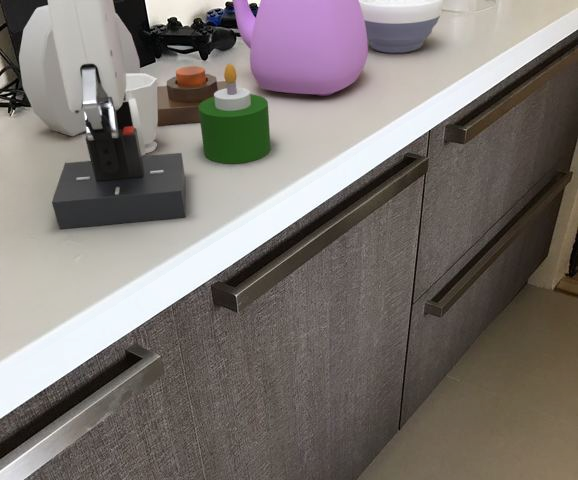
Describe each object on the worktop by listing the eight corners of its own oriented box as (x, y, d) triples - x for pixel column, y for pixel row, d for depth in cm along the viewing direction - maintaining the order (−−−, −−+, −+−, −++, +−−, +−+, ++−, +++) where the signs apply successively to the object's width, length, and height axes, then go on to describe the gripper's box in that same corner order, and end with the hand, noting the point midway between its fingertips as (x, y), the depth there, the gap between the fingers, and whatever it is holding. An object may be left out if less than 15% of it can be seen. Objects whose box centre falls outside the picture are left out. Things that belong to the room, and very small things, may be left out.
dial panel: (59, 229, 69) (51, 200, 66) (71, 188, 76) (64, 161, 74) (185, 217, 69) (180, 188, 67) (185, 178, 77) (181, 151, 75)
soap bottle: (60, 143, 87) (12, -35, 74) (35, 135, 89) (-15, -38, 76) (150, 107, 96) (121, -57, 83) (126, 101, 99) (94, -59, 85)
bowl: (344, 56, 111) (345, 5, 106) (364, 34, 122) (366, -14, 117) (431, 61, 108) (436, 8, 103) (444, 37, 118) (449, -12, 113)
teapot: (385, 64, 107) (391, -46, 97) (343, 107, 93) (344, -17, 83) (257, 55, 114) (250, -49, 104) (200, 93, 100) (185, -22, 90)
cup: (164, 134, 88) (153, 69, 82) (174, 163, 80) (163, 93, 75) (110, 142, 86) (96, 76, 81) (116, 171, 79) (100, 102, 74)
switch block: (151, 126, 90) (146, 95, 88) (154, 102, 98) (149, 73, 95) (239, 119, 91) (237, 88, 88) (235, 95, 98) (232, 67, 96)
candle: (203, 165, 79) (191, 77, 73) (205, 139, 86) (194, 56, 79) (272, 161, 80) (267, 72, 73) (268, 135, 86) (263, 52, 79)
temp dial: (95, 181, 70) (84, 136, 67) (97, 173, 71) (86, 129, 68) (143, 177, 70) (134, 132, 67) (144, 169, 72) (135, 125, 68)
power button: (177, 89, 90) (175, 75, 89) (177, 80, 93) (175, 67, 92) (206, 87, 91) (205, 73, 89) (206, 78, 94) (204, 65, 92)
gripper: (47, -45, 65) (90, 131, 76) (13, -10, 51) (70, 197, 63) (125, -51, 65) (156, 126, 76) (110, -17, 52) (150, 189, 63)
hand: (117, 158), depth 69 cm, fingers open, 9 cm apart
